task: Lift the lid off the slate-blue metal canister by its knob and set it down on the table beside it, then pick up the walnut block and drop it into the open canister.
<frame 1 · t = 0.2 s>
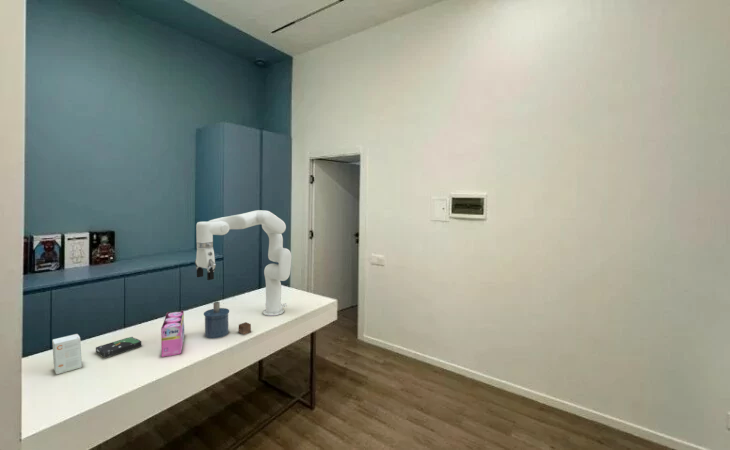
hand: (205, 278, 165), 31 cm above the table, tool pointing down, fingers open, 9 cm apart
disk drive: (119, 350, 151), on the table
lid: (216, 313, 170), point 11 cm above the table, touching canister
small box: (68, 368, 133), on the table
canister: (216, 333, 171), on the table
block: (244, 332, 174), on the table
gum box: (173, 345, 156), on the table
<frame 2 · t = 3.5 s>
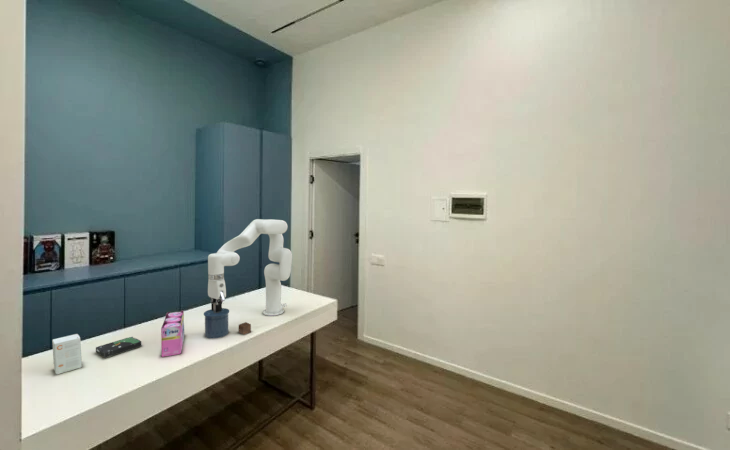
hand: (216, 310, 170), 13 cm above the table, tool pointing down, fingers closed on lid, 3 cm apart
lid: (216, 313, 170), point 12 cm above the table, touching canister, gripper
everything else where it was.
when the fingers open (2 cm above the table, at t = 12.0 s): lid stays where it is, point 1 cm above the table.
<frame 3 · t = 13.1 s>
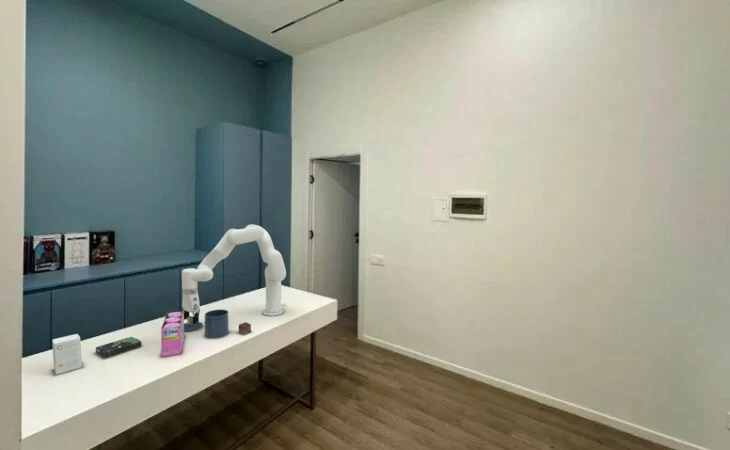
hand: (191, 320, 178), 4 cm above the table, tool pointing down, fingers open, 9 cm apart
lid: (190, 327, 178), point 1 cm above the table
everything else where it was.
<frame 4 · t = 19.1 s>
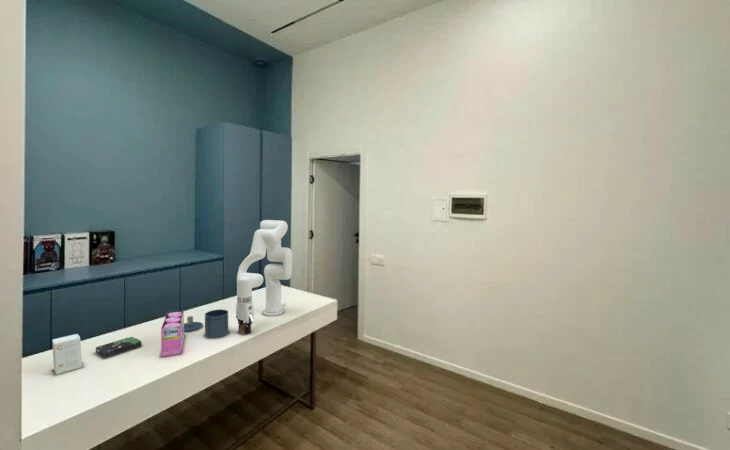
hand: (244, 331, 173), 0 cm above the table, tool pointing down, fingers closed on block, 4 cm apart
block: (244, 332, 174), on the table, touching gripper
everything else where it was.
when the fingers open (15 cm above the table, at t = 24.2 s): block drops 14 cm, resting on canister.
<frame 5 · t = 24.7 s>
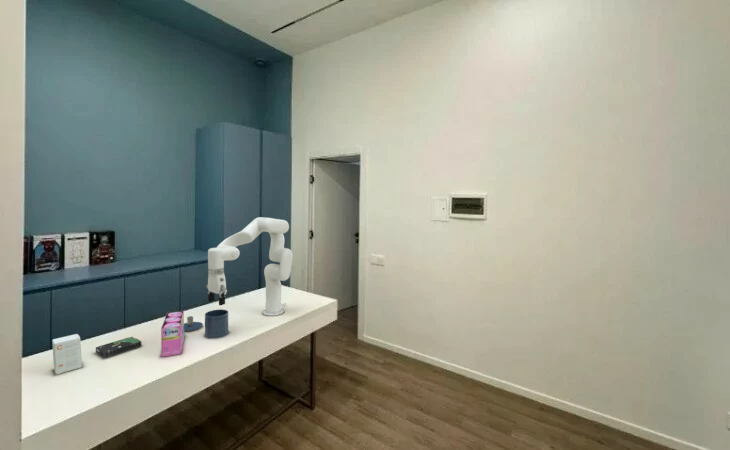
hand: (216, 302, 170), 17 cm above the table, tool pointing down, fingers open, 9 cm apart
block: (216, 333, 171), resting on canister
everything else where it was.
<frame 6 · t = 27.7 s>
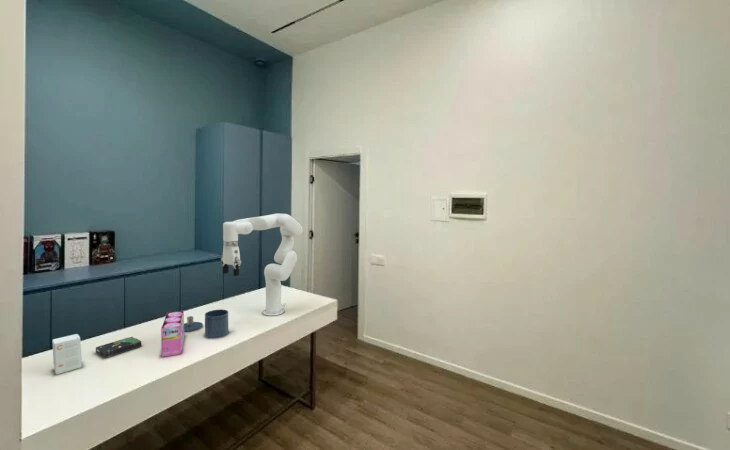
hand: (231, 274, 178), 30 cm above the table, tool pointing down, fingers open, 9 cm apart
nothing on the table moved.
at the end: lid point 0.6 cm above the table; lid inside the target area (0.1 cm from its centre), point 0.6 cm above the table; block inside the target area in the canister (0.0 cm from its centre), point 0.5 cm above the canister's base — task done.
